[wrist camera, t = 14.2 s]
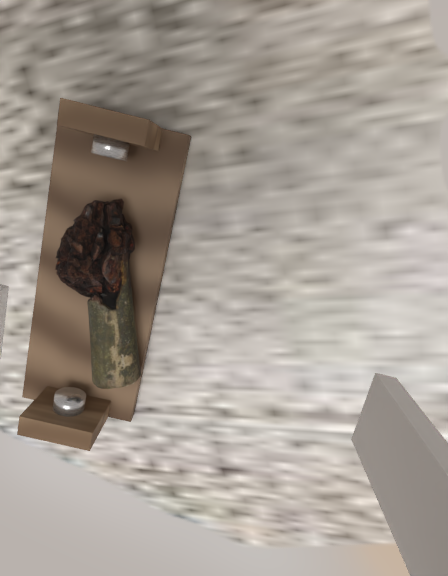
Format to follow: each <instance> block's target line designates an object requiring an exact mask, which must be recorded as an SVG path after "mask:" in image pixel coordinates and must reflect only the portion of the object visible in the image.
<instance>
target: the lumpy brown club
mask: <svg viewBox="0 0 448 576" xmlns="http://www.w3.org/2000/svg"><path fill="white" fill-rule="evenodd" d="M123 206H124V201H123V200H122V199H115V200H112V201H111V202H109V201H106V202H104V201H98V200H94V201H93V202H92V203H89V204H87V205H86V206H85V207H84V208H83V211H82V213H81V214H80V215H79V216H78V217H77V218H76V219H74V220H73V221H74V222H75V223H74V224H73V226H70V227H69V228H67V229H66V231H65V233H64V235H63V237H62V238H61V243H60V247H59V249H58V251H57V256H56V258H58V260H57V264H56V268H55V270H57V272H56V273H57V275H58V277H59V279H60V280H61V281H62V282H63V283H65V284H66V285H67V286H68V287H70V288H72V289H73V290H75V291H76V292H78V293H79V294H81V295H83V296H85V297H89V298H90V299H88V301H87V304H88V315H89V331H90V345H91V367H92V381H93V383H94V385H96V387H98V388H101V389H112V388H121V387H125V386H129V385H131V384H134V383H135V382H136V381H137V380H139V377H140V378H141V369H140V362H139V353H138V345H137V336H136V327H135V320H134V308H133V297H132V287H131V276H130V263H129V259H130V254H131V253H132V252H133V251H134V250H135V241H134V237H133V235H132V225H131V224H130V223H128V222H127V221H126V220H125V217H124V215H123V214H122V210H123Z"/></svg>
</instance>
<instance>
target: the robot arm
mask: <svg viewBox="0 0 448 576" xmlns="http://www.w3.org/2000/svg"><path fill="white" fill-rule="evenodd" d="M8 289H9V286H5V285H1V284H0V359H1V352H2V343H3V334H4V325H5V316H6V307H7V298H8ZM351 440H352V442H353V444H354V446H355V449H356V451H357V453H358V456H359V458H360V460H361V463H362V465H363V467H364V470H365V472H366V474H367V477H368V479H369V481H370V483H371V486H372V488H373V490H374V493H375V495H376V497H377V500H378V502H379V504H380V507H381V509H382V511H383V514H384V516H385V518H386V520H387V523H388V525H389V527H390V530H391V532H392V534H393V537H394V539H395V541H396V544H397V546H398V548H399V551H400V553H401V555H402V557H403V560H404V562H405V564H406V567H407V569H408V571H409V574H410V576H448V443H447V441H446V440H445V439H444V438H443V436H442V435H441V434H440V433H439V431H438V430H437V429H436V428H435V426H434V425H433V424H432V422H431V421H430V420H429V419H428V417H427V416H426V415H425V414H424V412H423V411H422V410H421V409H420V407H419V406H418V405H417V403H416V402H415V401H414V400H413V398H412V397H411V396H410V395H409V393H408V392H407V391H406V390H405V388H404V387H403V386H402V384H401V383H400V382H399V381H398V379H397V378H395V377H390V376H386V375H382V374H378V373H375V376H374V378H373V381H372V384H371V387H370V389H369V392H368V395H367V398H366V400H365V403H364V406H363V409H362V412H361V414H360V417H359V420H358V423H357V425H356V428H355V431H354V434H353V436H352V439H351Z"/></svg>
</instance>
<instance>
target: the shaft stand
mask: <svg viewBox="0 0 448 576" xmlns="http://www.w3.org/2000/svg"><path fill="white" fill-rule="evenodd" d="M190 140H191V136H190V135H186V134H182V133H178V132H174V131H170V130H166V129H163V128H161V127H159V126H158V125H156V124H155V123H153V122H152V121H150V120H148V119H144V118H140V117H136V116H132V115H128V114H124V113H120V112H116V111H112V110H108V109H104V108H100V107H96V106H91V105H87V104H83V103H79V102H75V101H71V100H67V99H63V98H60V105H59V113H58V121H57V132H56V139H55V147H54V155H53V163H52V171H51V178H50V186H49V194H48V202H47V210H46V217H45V225H44V233H43V241H42V248H41V256H40V264H39V272H38V280H37V287H36V295H35V303H34V311H33V318H32V326H31V334H30V342H29V350H28V357H27V365H26V373H25V381H24V389H23V396H22V397H24V398H29V399H33V400H34V401H33V402H32V403H31V404H30V406H29V407H28V408H27V409H26V410H25V411H24V412H23V413H22V414H21V415H20V417H19V425H18V433H17V435H22V436H26V437H30V438H35V439H39V440H44V441H48V442H52V443H57V444H61V445H66V446H70V447H75V448H79V449H83V450H88V451H90V449H91V447H92V445H93V444H94V442H95V440H96V438H97V436H98V434H99V433H100V431H101V429H102V427H103V425H104V423H105V422H106V420H107V418H108V417H112V418H116V419H120V420H125V421H129V422H131V420H132V418H133V415H134V411H135V406H136V402H137V397H138V392H139V387H140V382H141V378H140V377H139V380H137V381H136V382H135V383H134V384H131V385H129V386H125V387H121V388H112V389H101V388H98V387H96V385H94V383H93V381H92V367H91V345H90V331H89V315H88V304H87V301H88V299H90V298H89V297H85V296H83V295H81V294H79V293H78V292H76V291H75V290H73V289H72V288H70V287H68V286H67V285H66V284H65V283H63V282H62V281H61V280H60V279H59V277H58V275H57V273H56V272H57V270H55V268H56V264H57V260H58V258H56V256H57V251H58V249H59V247H60V243H61V238H62V237H63V235H64V233H65V231H66V229H67V228H69V227H70V226H73V224H74V223H75V222H74V221H73V220H74V219H76V218H77V217H78V216H79V215H80V214H81V213H82V211H83V208H84V207H85V206H86V205H87V204H89V203H92V202H93V201H94V200H98V201H104V202H106V201H109V202H111V201H112V200H115V199H122V200H123V201H124V206H123V210H122V214H123V215H124V217H125V220H126V221H127V222H128V223H130V224H131V225H132V235H133V237H134V241H135V250H134V251H133V252H132V253H131V254H130V259H129V263H130V276H131V287H132V297H133V308H134V320H135V327H136V336H137V345H138V353H139V362H140V369H141V377H142V373H143V368H144V363H145V358H146V353H147V348H148V344H149V339H150V334H151V329H152V324H153V319H154V314H155V310H156V305H157V300H158V295H159V290H160V285H161V281H162V276H163V271H164V266H165V261H166V256H167V251H168V247H169V242H170V237H171V232H172V227H173V222H174V218H175V213H176V208H177V203H178V198H179V193H180V188H181V184H182V179H183V174H184V169H185V164H186V159H187V155H188V150H189V145H190Z"/></svg>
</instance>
